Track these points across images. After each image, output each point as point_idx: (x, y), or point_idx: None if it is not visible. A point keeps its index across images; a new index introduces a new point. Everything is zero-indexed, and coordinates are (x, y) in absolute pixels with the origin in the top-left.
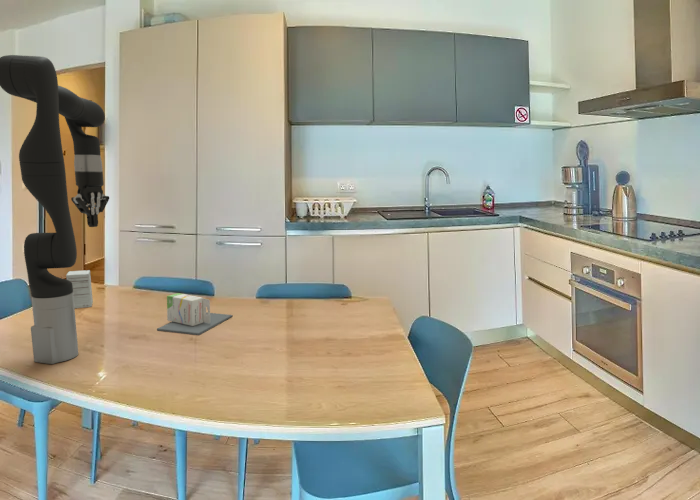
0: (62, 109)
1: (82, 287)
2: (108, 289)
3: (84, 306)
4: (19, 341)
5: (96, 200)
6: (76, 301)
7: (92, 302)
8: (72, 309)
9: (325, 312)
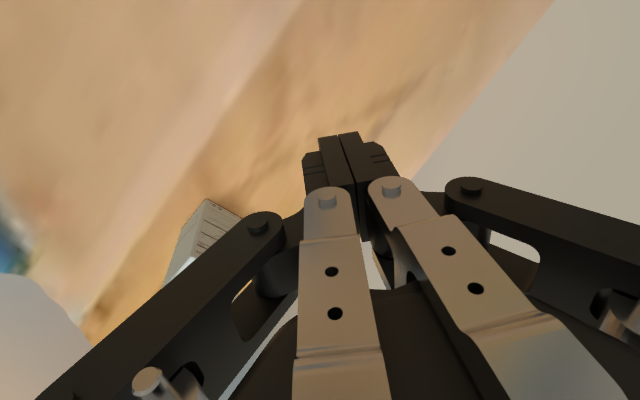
0: None
1: (213, 238)
2: (93, 292)
3: (219, 207)
4: (451, 95)
5: (371, 310)
6: (232, 223)
7: (189, 219)
8: None
9: None
